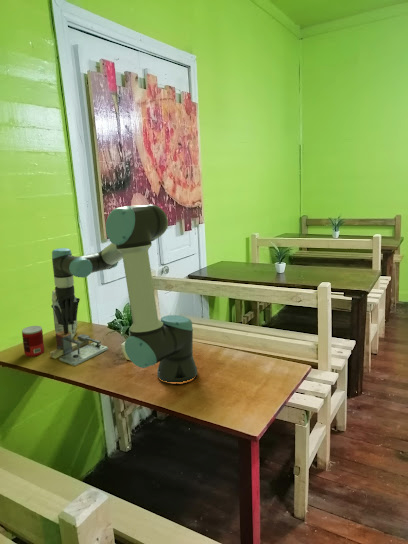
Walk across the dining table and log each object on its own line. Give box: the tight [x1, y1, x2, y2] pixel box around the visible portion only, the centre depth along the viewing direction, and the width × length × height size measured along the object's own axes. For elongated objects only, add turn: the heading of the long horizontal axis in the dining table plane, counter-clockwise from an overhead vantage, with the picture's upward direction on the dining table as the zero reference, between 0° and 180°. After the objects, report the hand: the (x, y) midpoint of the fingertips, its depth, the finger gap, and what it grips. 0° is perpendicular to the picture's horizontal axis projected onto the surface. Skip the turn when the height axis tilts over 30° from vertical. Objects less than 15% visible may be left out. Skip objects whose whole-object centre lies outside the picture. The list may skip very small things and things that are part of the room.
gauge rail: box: [49, 333, 102, 359], centre depth 171 cm, size 13×18×4 cm
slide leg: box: [55, 331, 82, 356], centre depth 168 cm, size 13×4×8 cm, turn 57°
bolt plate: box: [59, 342, 109, 367], centre depth 169 cm, size 9×18×1 cm, turn 147°
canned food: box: [21, 325, 45, 358], centre depth 169 cm, size 8×8×11 cm
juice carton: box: [51, 288, 78, 338], centre depth 186 cm, size 9×8×24 cm
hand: (69, 338), depth 172 cm, fingers closed
